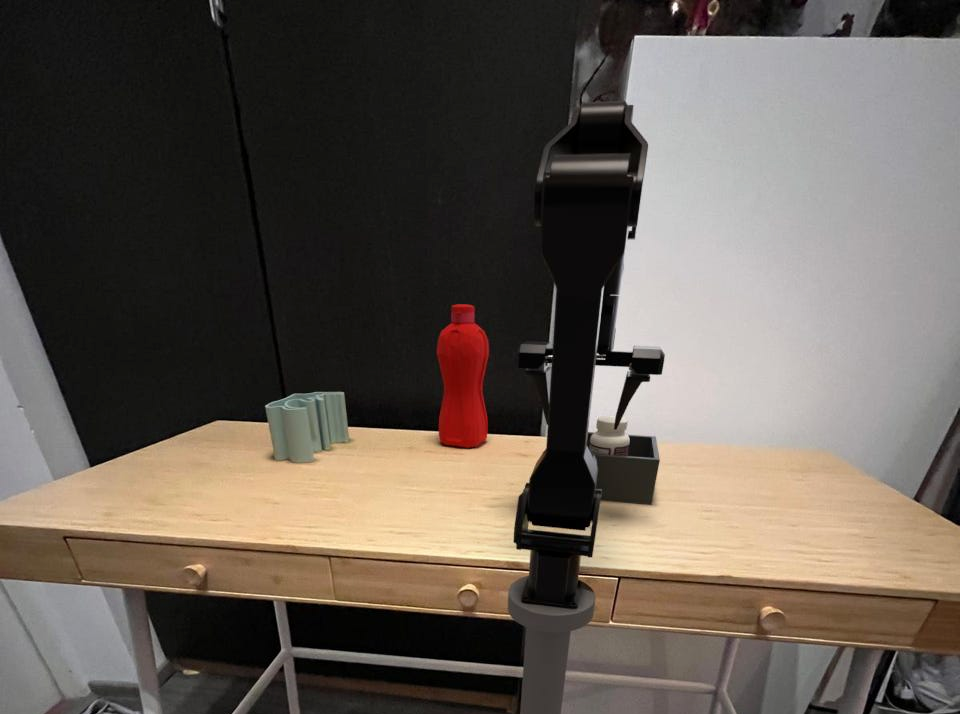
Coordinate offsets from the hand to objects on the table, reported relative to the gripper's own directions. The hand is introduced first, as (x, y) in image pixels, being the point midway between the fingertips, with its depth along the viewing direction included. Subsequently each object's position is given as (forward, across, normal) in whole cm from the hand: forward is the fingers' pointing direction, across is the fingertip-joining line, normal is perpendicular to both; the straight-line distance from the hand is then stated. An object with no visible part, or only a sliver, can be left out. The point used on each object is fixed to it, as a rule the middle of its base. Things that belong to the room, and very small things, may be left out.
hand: (581, 426), depth 78 cm
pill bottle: (+12, -4, -11) cm, 17 cm away
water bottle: (+12, +26, -36) cm, 46 cm away
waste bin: (+12, -4, -14) cm, 20 cm away
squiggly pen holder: (+12, +54, -22) cm, 59 cm away
